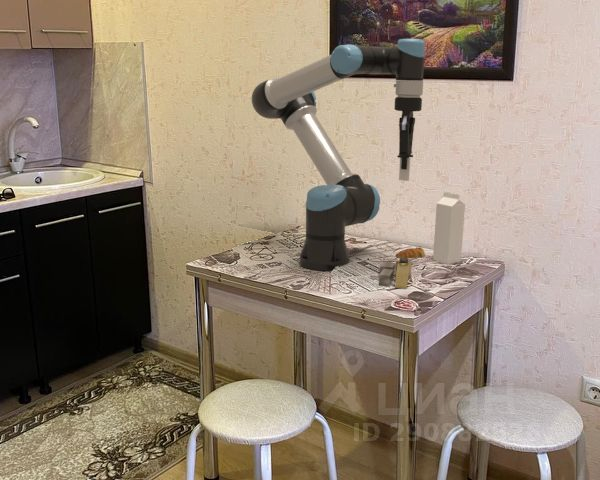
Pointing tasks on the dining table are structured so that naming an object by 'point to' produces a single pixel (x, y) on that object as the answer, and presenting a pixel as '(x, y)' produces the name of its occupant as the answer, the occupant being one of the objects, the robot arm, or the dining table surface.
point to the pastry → (411, 253)
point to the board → (388, 272)
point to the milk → (449, 229)
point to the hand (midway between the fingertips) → (404, 180)
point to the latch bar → (402, 274)
